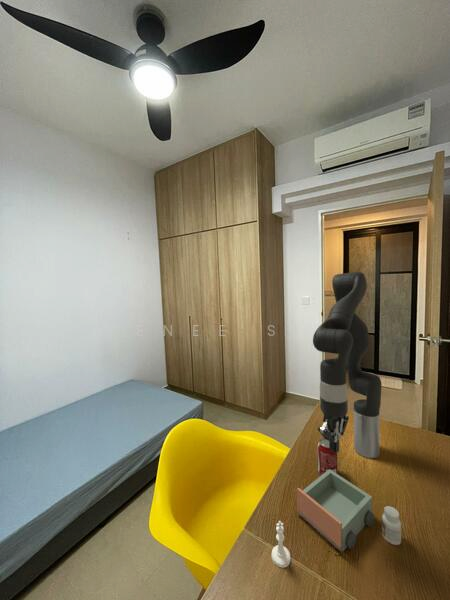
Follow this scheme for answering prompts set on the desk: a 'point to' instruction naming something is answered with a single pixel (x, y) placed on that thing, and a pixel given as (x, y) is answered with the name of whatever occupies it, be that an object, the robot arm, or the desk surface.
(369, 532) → the desk surface
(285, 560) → the chess piece
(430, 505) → the desk surface
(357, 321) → the robot arm
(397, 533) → the pill bottle
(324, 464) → the soda can
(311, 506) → the panel
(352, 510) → the truck bed
